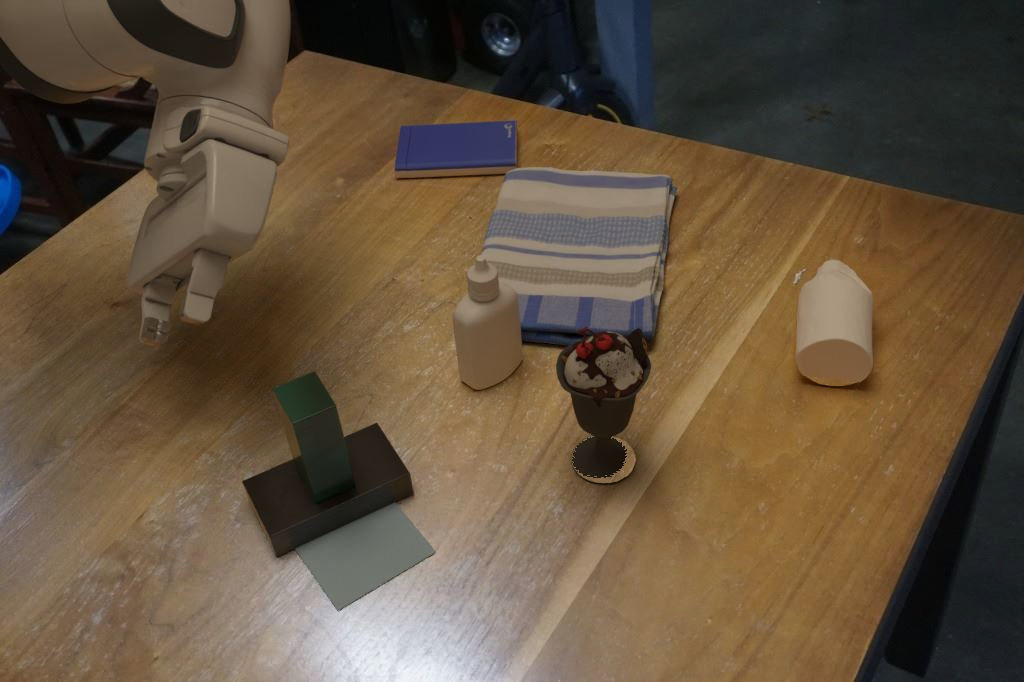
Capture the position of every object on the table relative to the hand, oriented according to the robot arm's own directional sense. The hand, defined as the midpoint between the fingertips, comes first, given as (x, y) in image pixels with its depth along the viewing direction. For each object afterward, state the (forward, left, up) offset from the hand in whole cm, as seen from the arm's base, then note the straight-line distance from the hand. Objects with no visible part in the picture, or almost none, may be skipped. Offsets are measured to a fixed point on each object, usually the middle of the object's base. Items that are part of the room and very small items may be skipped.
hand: (171, 333), depth 80 cm
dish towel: (+29, +21, -12) cm, 38 cm away
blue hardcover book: (+17, +39, -12) cm, 45 cm away
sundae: (+31, -3, -12) cm, 33 cm away
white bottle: (+50, +11, -12) cm, 53 cm away
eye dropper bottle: (+22, +7, -12) cm, 26 cm away
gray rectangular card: (+12, -9, -12) cm, 19 cm away
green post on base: (+11, -6, -12) cm, 17 cm away
